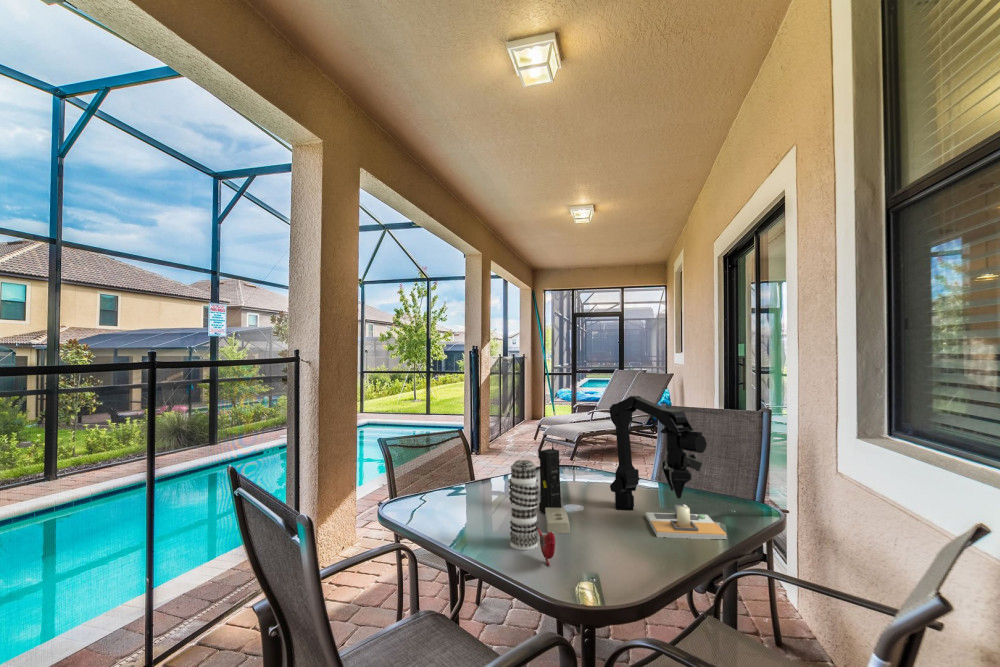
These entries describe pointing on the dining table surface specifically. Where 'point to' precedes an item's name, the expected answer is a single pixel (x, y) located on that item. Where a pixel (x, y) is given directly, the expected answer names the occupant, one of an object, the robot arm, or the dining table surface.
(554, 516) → the electrical outlet
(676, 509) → the block
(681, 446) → the robot arm
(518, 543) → the decorative candle
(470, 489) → the dining table surface
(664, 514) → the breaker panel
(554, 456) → the portable radio
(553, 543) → the decorative bird figurine
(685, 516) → the lockout cap
